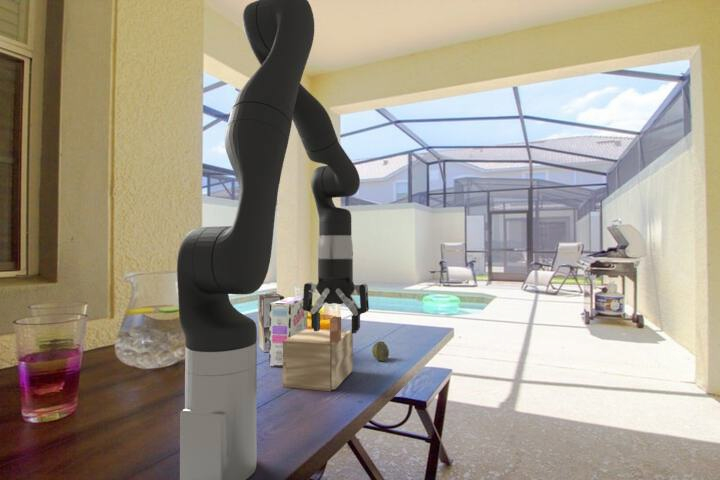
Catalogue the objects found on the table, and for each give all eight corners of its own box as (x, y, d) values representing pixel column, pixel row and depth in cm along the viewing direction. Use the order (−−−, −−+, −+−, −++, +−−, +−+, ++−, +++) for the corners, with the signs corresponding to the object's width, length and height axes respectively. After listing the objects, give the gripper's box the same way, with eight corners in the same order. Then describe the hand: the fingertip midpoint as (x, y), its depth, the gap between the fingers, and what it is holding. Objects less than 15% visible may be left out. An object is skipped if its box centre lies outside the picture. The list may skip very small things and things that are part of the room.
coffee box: (285, 350, 120) (285, 296, 121) (263, 352, 118) (263, 297, 118) (277, 343, 129) (277, 293, 129) (257, 346, 126) (257, 294, 126)
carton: (330, 391, 86) (330, 343, 86) (282, 386, 88) (282, 340, 89) (348, 371, 99) (348, 330, 100) (306, 368, 102) (306, 328, 102)
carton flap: (336, 389, 85) (336, 319, 86) (329, 389, 86) (329, 319, 86) (354, 370, 99) (354, 309, 99) (348, 369, 100) (348, 309, 100)
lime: (388, 358, 112) (388, 339, 112) (388, 362, 107) (388, 343, 107) (372, 357, 112) (372, 339, 112) (371, 362, 107) (371, 343, 108)
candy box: (290, 368, 102) (290, 303, 103) (268, 367, 104) (268, 302, 104) (307, 354, 116) (307, 296, 116) (288, 353, 117) (288, 296, 117)
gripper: (298, 257, 86) (298, 333, 86) (363, 257, 82) (363, 337, 82) (310, 256, 93) (311, 327, 93) (371, 256, 90) (371, 329, 89)
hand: (335, 331), depth 88 cm, fingers open, 8 cm apart
